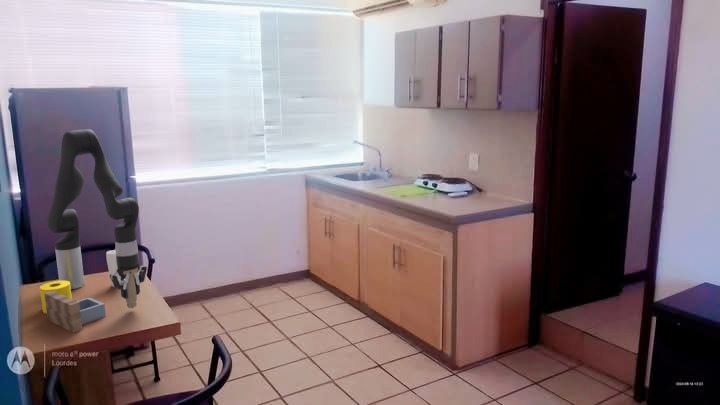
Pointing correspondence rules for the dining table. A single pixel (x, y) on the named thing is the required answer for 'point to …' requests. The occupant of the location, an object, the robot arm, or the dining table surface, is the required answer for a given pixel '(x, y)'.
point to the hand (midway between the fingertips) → (130, 295)
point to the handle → (131, 288)
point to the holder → (91, 309)
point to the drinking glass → (112, 264)
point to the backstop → (63, 311)
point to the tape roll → (56, 286)
